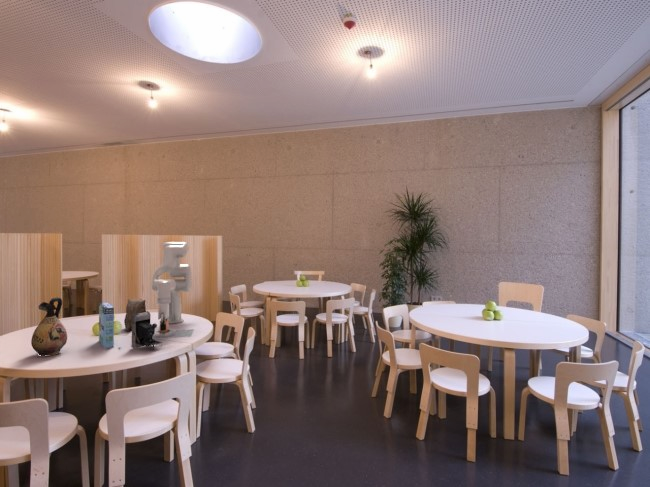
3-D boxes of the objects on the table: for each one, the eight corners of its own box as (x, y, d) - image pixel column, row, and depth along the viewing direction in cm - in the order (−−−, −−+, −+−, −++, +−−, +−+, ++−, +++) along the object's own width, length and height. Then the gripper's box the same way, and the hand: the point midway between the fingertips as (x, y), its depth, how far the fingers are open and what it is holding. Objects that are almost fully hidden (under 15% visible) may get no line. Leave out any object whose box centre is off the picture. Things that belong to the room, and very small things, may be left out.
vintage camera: (146, 353, 198) (147, 317, 198) (130, 348, 206) (131, 313, 206) (162, 349, 206) (163, 314, 206) (146, 344, 214) (147, 310, 214)
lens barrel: (155, 332, 235) (155, 329, 235) (176, 331, 238) (176, 328, 238) (150, 337, 222) (150, 334, 222) (173, 336, 225) (173, 333, 225)
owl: (124, 328, 251) (123, 299, 250) (144, 325, 258) (144, 297, 257) (126, 332, 240) (126, 301, 240) (147, 329, 248) (147, 300, 247)
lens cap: (160, 330, 233) (160, 320, 232) (169, 330, 234) (169, 319, 234) (158, 333, 226) (158, 322, 226) (167, 333, 227) (167, 322, 227)
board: (155, 333, 237) (155, 331, 237) (194, 331, 243) (194, 329, 243) (148, 341, 220) (148, 338, 219) (191, 338, 225) (191, 336, 225)
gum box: (98, 341, 220) (98, 303, 219) (108, 339, 223) (108, 302, 223) (104, 348, 205) (103, 308, 204) (114, 347, 208) (114, 307, 208)
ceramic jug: (49, 359, 187) (48, 301, 186) (23, 357, 190) (23, 300, 189) (77, 349, 204) (76, 296, 203) (53, 347, 206) (52, 295, 206)
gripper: (160, 298, 237) (160, 325, 237) (154, 303, 220) (154, 332, 221) (172, 298, 239) (172, 325, 239) (168, 302, 222) (168, 331, 222)
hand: (164, 328), depth 230 cm, fingers closed on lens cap, 6 cm apart
